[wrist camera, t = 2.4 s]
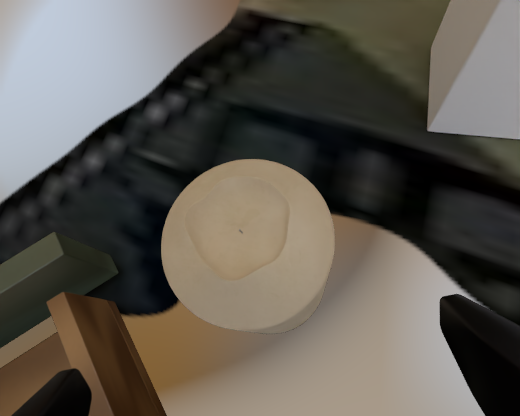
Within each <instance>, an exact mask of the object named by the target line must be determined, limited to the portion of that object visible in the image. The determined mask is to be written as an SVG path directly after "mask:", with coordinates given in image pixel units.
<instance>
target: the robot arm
mask: <svg viewBox="0 0 520 416" xmlns="http://www.w3.org/2000/svg"><path fill="white" fill-rule="evenodd" d="M440 326H441V330H442V333H443V335H444V337H445V339H446V341H447V343H448V345H449V347H450V349H451V351H452V353H453V355H454V358H455V359H456V362H457V364H458V366H459V368H460V370H461V372H462V374H463V376H464V378H465V380H466V382H467V384H468V386H469V388H470V390H471V392H472V394H473V396H474V397H475V399H476V401H477V403H478V404H479V406H480V407H481V409H482V411H483V413H484V414H485V416H520V326H519V325H517V324H515V323H513V322H512V321H510V320H508V319H506V318H504V317H502V316H500V315H498V314H496V313H494V312H492V311H491V310H489V309H487V308H485V307H483V306H481V305H479V304H477V303H475V302H473V301H471V300H470V299H468V298H466V297H464V296H462V295H459V294H454V295H449V296H444V297H442V298H441V299H440ZM91 401H92V392H91V389H90V387H89V385H88V384H87V382H86V380H85V379H84V377H83V375H82V374H81V372H80V371H79V370H78V369H76V368H72V369H67V370H62V371H60V372H58V373H57V374H56V375H55V376H54V377H53V378H51V379H50V380H49V381H48V382H47V383H46V384H45V385H44V386H43V387H42V388H41V389H39V390H38V391H37V392H36V393H35V394H34V395H33V396H32V397H31V398H30V399H29V400H27V401H26V402H25V403H24V404H23V405H22V406H21V407H20V408H19V409H18V410H17V411H16V412H14V413H13V414H12V415H11V416H89V411H90V406H91Z"/></svg>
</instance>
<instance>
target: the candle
mask: <svg viewBox="0 0 520 416" xmlns="http://www.w3.org/2000/svg"><path fill="white" fill-rule="evenodd" d="M334 249H335V232H334V225H333V221H332V217H331V214H330V211H329V209H328V207H327V205H326V202H325V201H324V199H323V197H322V196H321V194H320V193H319V192H318V190H317V189H316V188H315V187H314V186H313V184H312V183H310V182H309V181H308V180H307V179H306V178H305V177H304V176H302V175H301V174H299V173H298V172H296V171H295V170H293V169H291V168H289V167H287V166H284V165H282V164H279V163H276V162H272V161H267V160H259V159H244V160H236V161H232V162H228V163H224V164H222V165H219V166H216V167H214V168H212V169H210V170H208V171H206V172H205V173H203V174H202V175H200V176H199V177H197V178H196V179H195V180H194V181H193V182H191V183H190V184H189V185H188V186H187V187H186V188H185V189H184V190H183V192H182V193H181V194H180V195H179V197H178V198H177V199H176V201H175V202H174V204H173V206H172V208H171V210H170V212H169V214H168V216H167V219H166V222H165V225H164V229H163V234H162V241H161V255H162V263H163V268H164V271H165V275H166V278H167V280H168V282H169V285H170V287H171V288H172V290H173V292H174V293H175V295H176V296H177V298H178V299H179V300H180V301H181V303H182V304H183V305H184V306H185V307H186V308H187V309H188V310H190V311H191V312H192V313H193V314H195V315H196V316H198V317H199V318H201V319H203V320H204V321H206V322H208V323H210V324H213V325H216V326H219V327H222V328H226V329H232V330H238V331H246V332H254V333H262V334H277V333H283V332H287V331H290V330H293V329H295V328H297V327H298V326H300V325H302V324H303V323H304V322H305V321H307V320H308V319H309V318H310V317H311V316H312V314H313V313H314V312H315V310H316V309H317V307H318V305H319V304H320V302H321V299H322V297H323V293H324V290H325V286H326V283H327V279H328V276H329V273H330V269H331V265H332V261H333V257H334Z"/></svg>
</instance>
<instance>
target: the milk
mask: <svg viewBox="0 0 520 416" xmlns="http://www.w3.org/2000/svg"><path fill="white" fill-rule="evenodd" d="M427 131H430V132H441V133H452V134H464V135H475V136H487V137H498V138H510V139H520V0H451V1H450V3H449V6H448V8H447V10H446V13H445V15H444V18H443V20H442V22H441V25H440V27H439V30H438V32H437V35H436V37H435V39H434V42H433V44H432V47H431V58H430V79H429V100H428V120H427Z"/></svg>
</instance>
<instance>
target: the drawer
mask: <svg viewBox="0 0 520 416" xmlns="http://www.w3.org/2000/svg"><path fill="white" fill-rule="evenodd" d="M116 274H118V270H117V268H116V266H115V264H114V262H113V260H112V258H111V256H110V255H108V254H106V253H104V252H101V251H99V250H96V249H94V248H92V247H89V246H87V245H85V244H82V243H80V242H77V241H75V240H73V239H70V238H68V237H66V236H63V235H61V234H58V233H56V232H53V233H51V234H50V235H48V236H46V237H45V238H43V239H41V240H40V241H38V242H37V243H35V244H33V245H32V246H30V247H28V248H27V249H25V250H24V251H22V252H20V253H19V254H17V255H15V256H14V257H12V258H11V259H9V260H7V261H6V262H4V263H2V264H1V265H0V348H1V347H3V346H4V345H6V344H8V343H9V342H11V341H12V340H14V339H15V338H17V337H18V336H20V335H21V334H23V333H25V332H26V331H28V330H30V329H31V328H33V327H34V326H36V325H37V324H39V323H40V322H42V321H44V320H45V319H47V318H49V317H50V316H52V318H53V321H54V324H55V326H56V329H57V331H58V332H56V333H55V334H53V335H52V336H50V337H49V338H47V339H45V340H44V341H42V342H41V343H39V344H38V345H36V346H35V347H33V348H31V349H30V350H28V351H27V352H25V353H24V354H22V355H20V356H19V357H17V358H16V359H14V360H13V361H11V362H9V363H8V364H6V365H5V366H3V367H2V368H0V416H11V415H12V414H13V413H14V412H16V411H17V410H18V409H19V408H20V407H21V406H22V405H23V404H24V403H25V402H26V401H27V400H29V399H30V398H31V397H32V396H33V395H34V394H35V393H36V392H37V391H38V390H39V389H41V388H42V387H43V386H44V385H45V384H46V383H47V382H48V381H49V380H50V379H51V378H53V377H54V376H55V375H56V374H57V373H58V372H60V371H62V370H67V369H72V368H76V369H78V370H79V371H80V372H81V374H82V375H83V377H84V379H85V380H86V382H87V384H88V385H89V387H90V389H91V392H92V401H91V406H90V411H89V416H167V415H166V413H165V411H164V409H163V407H162V404H161V402H160V400H159V398H158V396H157V393H156V392H155V389H154V387H153V385H152V382H151V380H150V378H149V376H148V374H147V372H146V369H145V367H144V365H143V363H142V361H141V358H140V356H139V354H138V352H137V350H136V348H135V345H134V343H133V341H132V339H131V337H130V335H129V332H128V330H127V328H126V326H125V324H124V321H123V319H122V317H121V315H120V313H119V310H118V308H117V306H116V304H115V302H113V301H108V300H104V299H99V298H94V297H89V296H83V295H85V294H86V293H88V292H90V291H91V290H93V289H94V288H96V287H97V286H99V285H101V284H102V283H104V282H105V281H107V280H108V279H110V278H112V277H113V276H115V275H116Z"/></svg>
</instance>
